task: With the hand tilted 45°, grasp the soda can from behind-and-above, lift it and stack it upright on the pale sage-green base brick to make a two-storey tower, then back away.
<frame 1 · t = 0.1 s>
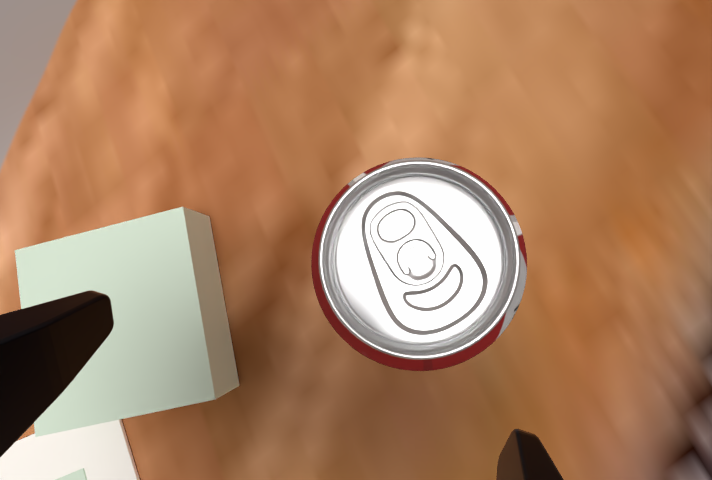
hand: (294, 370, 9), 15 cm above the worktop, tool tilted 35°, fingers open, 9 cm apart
soda can: (413, 272, 24), on the worktop
base brick: (145, 317, 25), on the worktop
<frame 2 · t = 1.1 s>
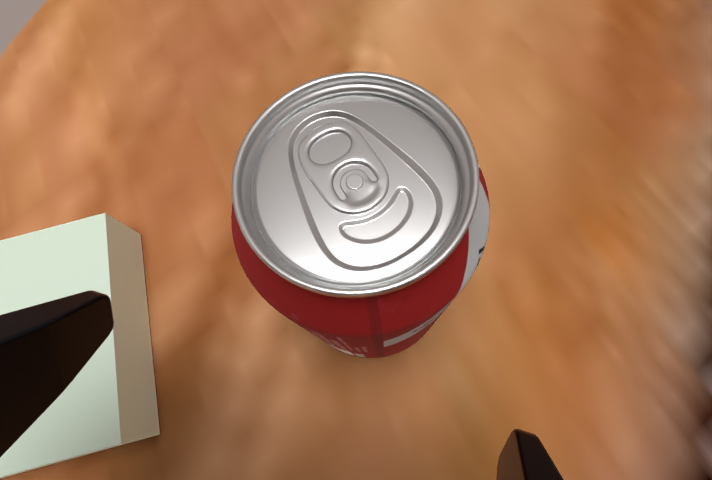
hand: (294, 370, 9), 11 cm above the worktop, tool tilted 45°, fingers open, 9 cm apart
soda can: (371, 288, 21), on the worktop
base brick: (50, 353, 21), on the worktop
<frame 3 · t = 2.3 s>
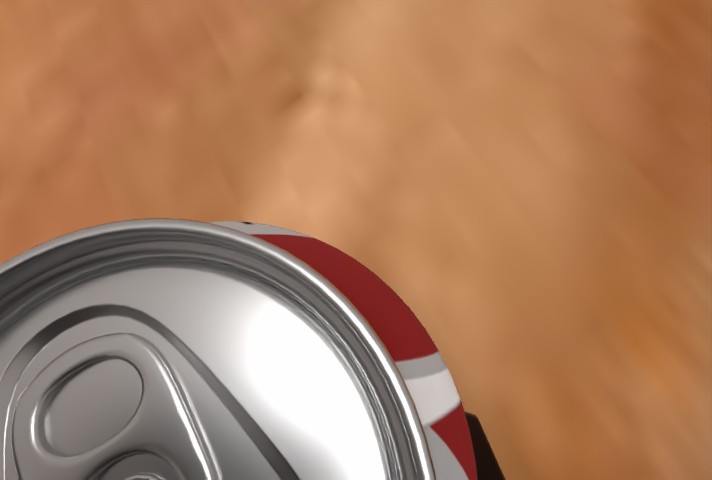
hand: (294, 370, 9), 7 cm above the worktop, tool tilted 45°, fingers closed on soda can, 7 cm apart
soda can: (321, 412, 15), on the worktop, touching gripper
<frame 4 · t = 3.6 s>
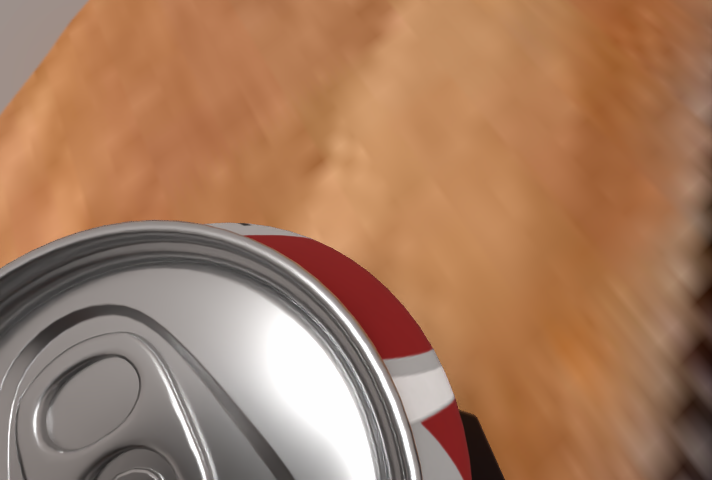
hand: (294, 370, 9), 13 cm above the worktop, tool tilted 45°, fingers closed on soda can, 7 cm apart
soda can: (328, 412, 15), point 6 cm above the worktop, touching gripper
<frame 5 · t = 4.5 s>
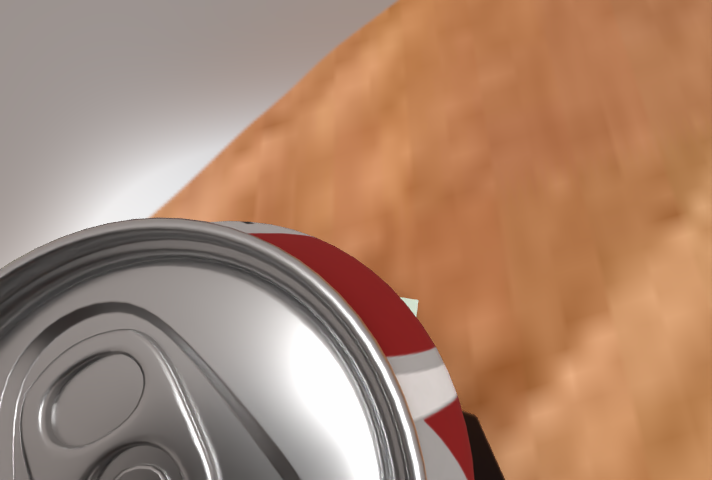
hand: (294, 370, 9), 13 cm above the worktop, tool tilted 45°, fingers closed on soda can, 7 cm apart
soda can: (329, 411, 15), point 6 cm above the worktop, touching gripper
when the fingers open (10 cm above the worktop, at t = 5.8 s): soda can stays where it is, resting on base brick.
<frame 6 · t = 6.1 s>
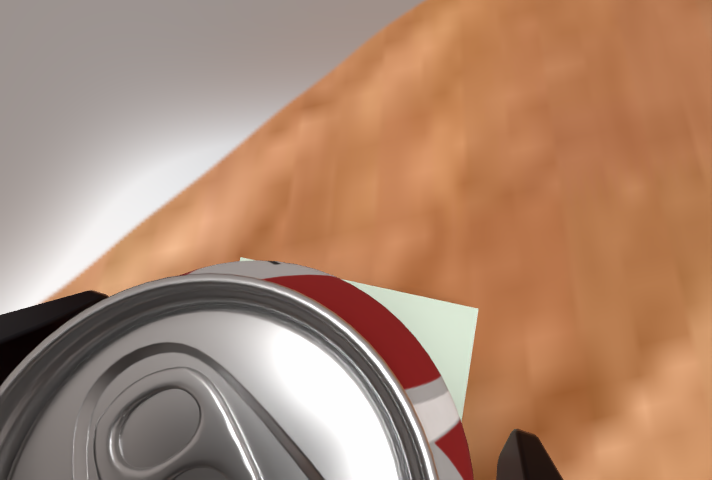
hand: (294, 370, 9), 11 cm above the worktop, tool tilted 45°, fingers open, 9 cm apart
soda can: (329, 416, 16), point 3 cm above the worktop, touching base brick
base brick: (334, 404, 19), on the worktop
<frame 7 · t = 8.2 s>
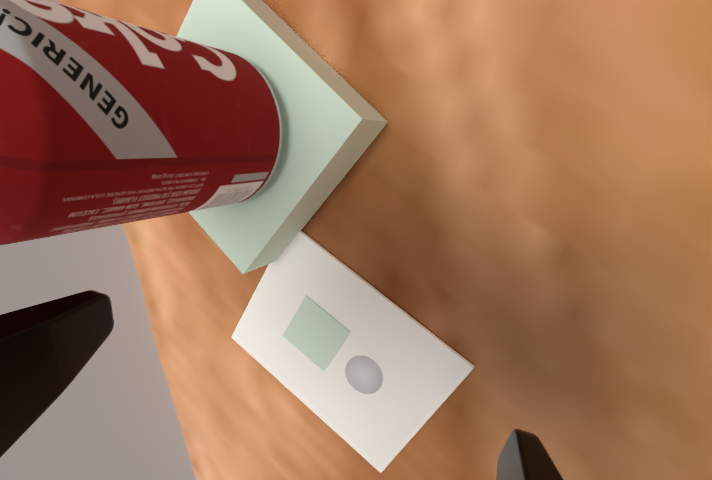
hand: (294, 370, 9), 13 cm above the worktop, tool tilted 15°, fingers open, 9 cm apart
instruction page: (337, 349, 24), on the worktop
soda can: (234, 131, 20), point 3 cm above the worktop, touching base brick
base brick: (265, 133, 23), on the worktop
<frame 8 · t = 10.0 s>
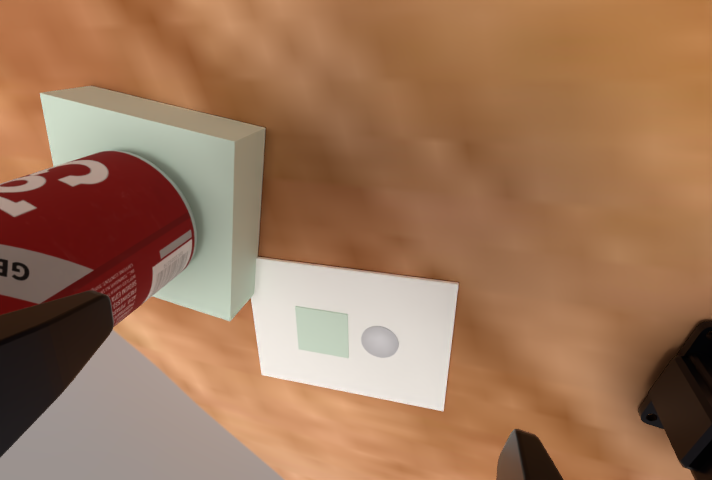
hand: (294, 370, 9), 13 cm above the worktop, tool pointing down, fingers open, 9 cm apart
instruction page: (347, 333, 25), on the worktop
soda can: (147, 211, 21), point 3 cm above the worktop, touching base brick
base brick: (179, 195, 24), on the worktop
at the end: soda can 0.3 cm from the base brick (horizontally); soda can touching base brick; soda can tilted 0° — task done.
